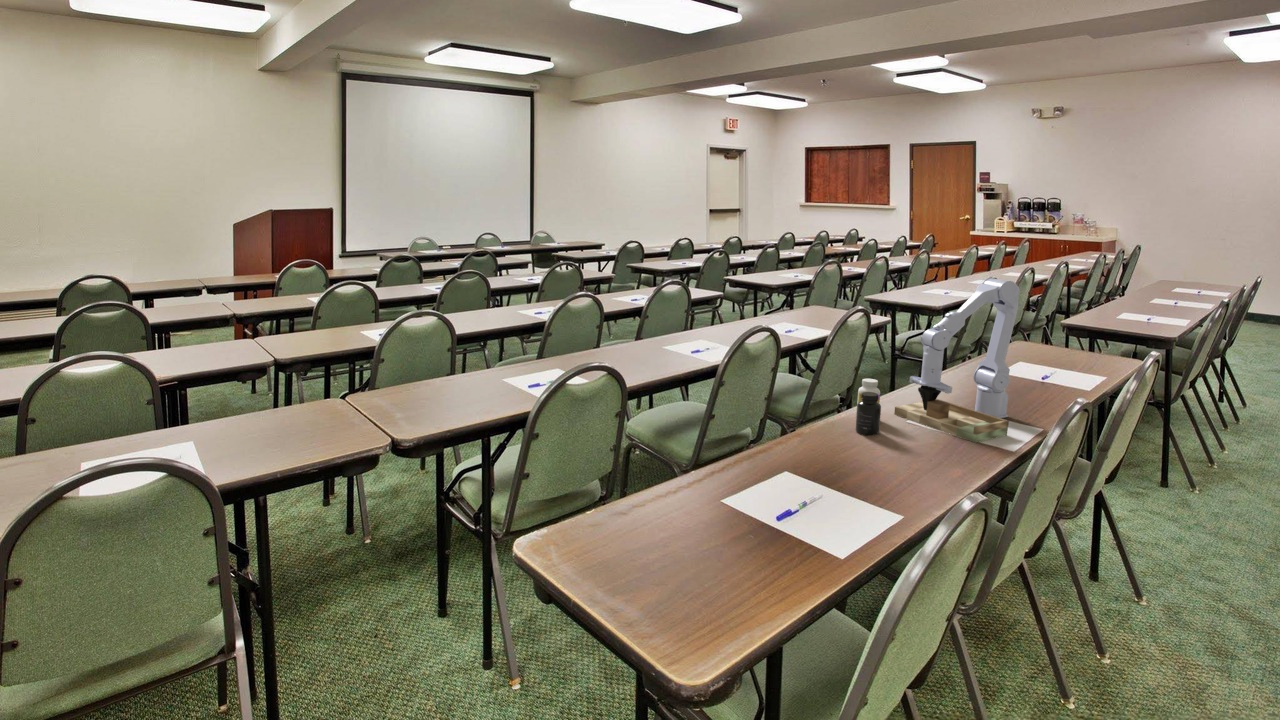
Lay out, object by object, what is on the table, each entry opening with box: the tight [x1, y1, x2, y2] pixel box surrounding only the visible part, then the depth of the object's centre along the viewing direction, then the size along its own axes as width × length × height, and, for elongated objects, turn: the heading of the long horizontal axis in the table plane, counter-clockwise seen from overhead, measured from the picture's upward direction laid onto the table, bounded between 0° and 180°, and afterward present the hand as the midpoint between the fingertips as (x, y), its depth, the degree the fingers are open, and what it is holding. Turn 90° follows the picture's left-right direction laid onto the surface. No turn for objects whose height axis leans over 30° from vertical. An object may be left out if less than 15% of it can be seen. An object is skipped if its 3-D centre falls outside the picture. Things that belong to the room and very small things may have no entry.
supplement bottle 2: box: [855, 392, 882, 436], centre depth 211 cm, size 7×7×12 cm
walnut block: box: [926, 399, 951, 419], centre depth 219 cm, size 4×4×4 cm
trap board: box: [893, 398, 1010, 444], centre depth 219 cm, size 14×30×4 cm, turn 28°
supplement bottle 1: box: [856, 378, 881, 414], centre depth 222 cm, size 7×7×13 cm
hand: (927, 409), depth 222 cm, fingers closed
